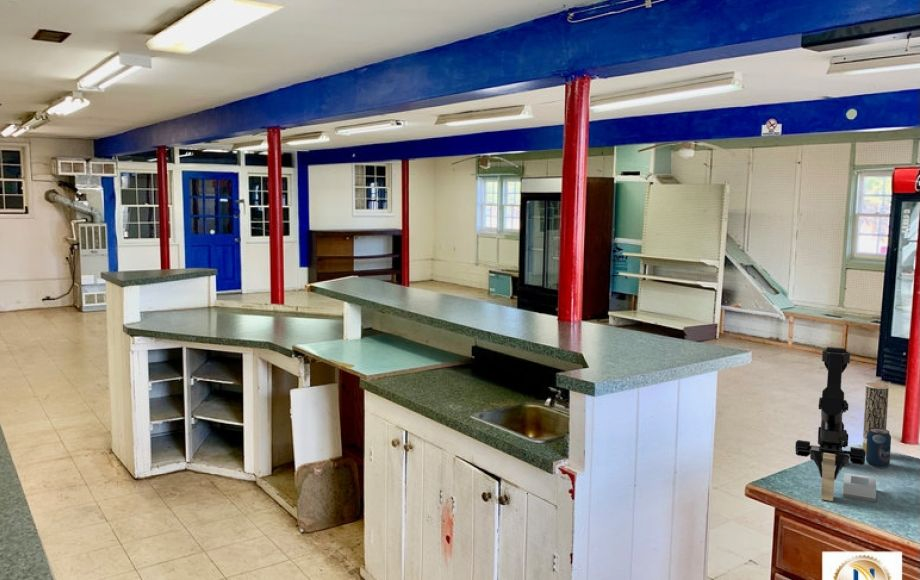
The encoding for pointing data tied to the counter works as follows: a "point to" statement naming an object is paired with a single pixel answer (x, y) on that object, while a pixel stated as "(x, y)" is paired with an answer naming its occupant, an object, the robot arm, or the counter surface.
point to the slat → (828, 476)
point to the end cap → (859, 487)
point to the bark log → (875, 408)
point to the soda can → (878, 447)
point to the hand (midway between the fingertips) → (828, 478)
